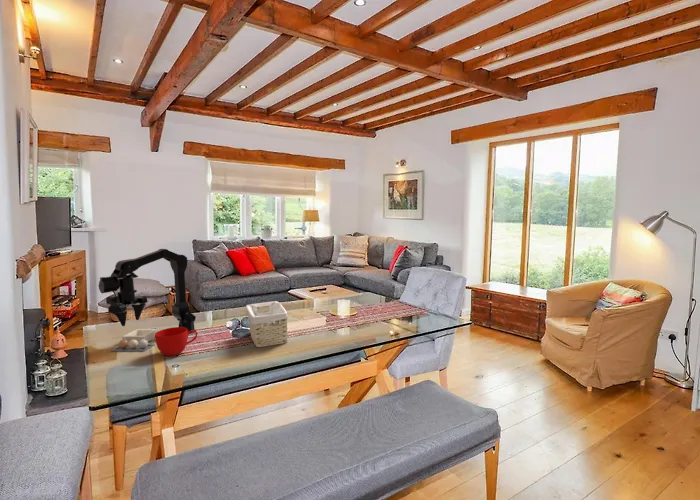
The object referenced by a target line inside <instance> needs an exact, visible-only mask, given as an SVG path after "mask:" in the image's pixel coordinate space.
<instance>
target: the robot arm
mask: <svg viewBox="0 0 700 500" xmlns="http://www.w3.org/2000/svg"><path fill="white" fill-rule="evenodd" d="M160 259H161V260H162V259H163V260H166V261H167V262H169V263H170V268H171V269H172V271H173V277H174V289H175V290H174V293H175V294H174V295H175V302H174V304H172V305H171V314H172V316H173V317H174V318H175V319H176V320H177V321H178V327H184V328H187V330H188V332H189V331H191V330H195V331H197V329H195V321H196V319H197V318H196V317H197V316H196V315H194V314H193V313H191V308H190V306H189V303H188V301H187V292H186V291H187V290H186V288H187V287H186V276H185V275H186V274H185V273H186V270H187V268H188V256H186V255H185V254H178V253H176V252H174V251H170V250H168V249H167V248H159V249H158V250H155V251H152V252H150V253H146V254H144V255H142V256H139V257H136V258H128V259H123V260H118V261H117V262H116V264H115V266H114V270H113V271H112V273H110V274H111V275H109V276H106V277H105V276H101V277H99V281H98V289H99V292H100V293H101V294H107V293H112V292H116V295H115V296H112V295H110V296H108V297H105V302H106V304H107V305H109V306H108V307H107V311H108V313H109V314H111V315H114V316H116V317H117V319H118V321H119V323H120V325H121V326H122V327H125V326H126V323H127V315H128V310H127V308H129V307H132V309H133V313H134V316H135V318H134V319H135V320H136V321H139V320H140V318H141V315H142V313H143V310H144V308H145V306H146V305H147V303H148V297H147V296H140V295H139V296H136V293H137V292H138V291H137V289H135V286H134V285H135V283H134V282H135V281H134V279H136V278H139V276H138V275H137V274H136V273H135V272H136V271H137V270H138V269H140V268H141V267H143V266H145V265H148V264H151V263H153V262H157V261H159V260H160ZM118 290H119V292H117V291H118ZM191 333H192V332H191ZM191 333H190V334H189V335H192V334H193V333H192V334H191Z"/></svg>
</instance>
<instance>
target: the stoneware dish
mask: <svg viewBox="0 0 700 500" xmlns="http://www.w3.org/2000/svg"><path fill="white" fill-rule="evenodd" d="M158 331H159V329H158V328H137V329H134V330H133V331H131V332H129V333H126V334H124V335H123V336H121V337H122V338H121V340H123V339H125V340H127V341H128V343H129V341H130V340H133V339H135V340H137V341H138V343H139V341H140V340H143V339H144V340H147V342H148V343H149V342H151V341H153V340H154V339H155V333H156V332H158Z"/></svg>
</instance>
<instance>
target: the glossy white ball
mask: <svg viewBox="0 0 700 500" xmlns="http://www.w3.org/2000/svg"><path fill="white" fill-rule="evenodd" d="M148 344H149V342H147V340H144V339H143V340H140V341H139V343H138V346H139V348H142V349H143V348H146V347H147V346H148Z"/></svg>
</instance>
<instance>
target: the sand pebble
mask: <svg viewBox="0 0 700 500" xmlns="http://www.w3.org/2000/svg"><path fill="white" fill-rule="evenodd" d="M128 346H129V347H130V348H136V347H137V346H138V341H137V340H135V339H133V340H130V341H129V343H128Z"/></svg>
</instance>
